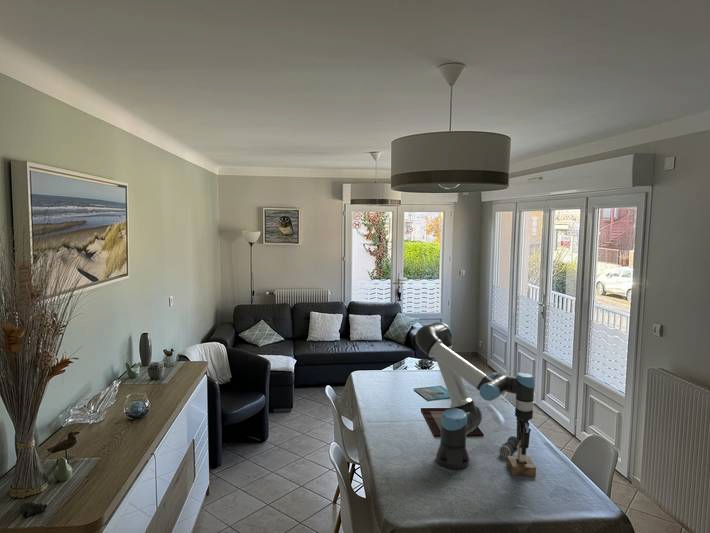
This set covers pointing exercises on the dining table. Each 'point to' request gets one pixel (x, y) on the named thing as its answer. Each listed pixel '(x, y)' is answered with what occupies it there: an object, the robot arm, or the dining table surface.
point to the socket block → (521, 466)
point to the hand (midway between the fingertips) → (521, 458)
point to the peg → (519, 454)
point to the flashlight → (508, 446)
